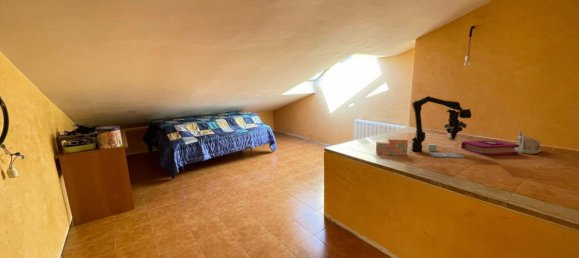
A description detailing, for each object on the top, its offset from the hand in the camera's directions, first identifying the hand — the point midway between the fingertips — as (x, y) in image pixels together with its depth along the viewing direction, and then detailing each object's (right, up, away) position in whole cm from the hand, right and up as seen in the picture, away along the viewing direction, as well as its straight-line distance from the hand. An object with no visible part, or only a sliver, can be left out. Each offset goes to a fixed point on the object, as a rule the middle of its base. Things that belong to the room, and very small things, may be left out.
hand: (452, 138), depth 184 cm
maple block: (0, -1, 0) cm, 1 cm away
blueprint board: (-9, -12, -6) cm, 16 cm away
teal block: (-10, -10, +11) cm, 17 cm away
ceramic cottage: (+58, -10, 0) cm, 59 cm away
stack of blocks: (-45, -12, +2) cm, 47 cm away
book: (+30, -11, +3) cm, 32 cm away
